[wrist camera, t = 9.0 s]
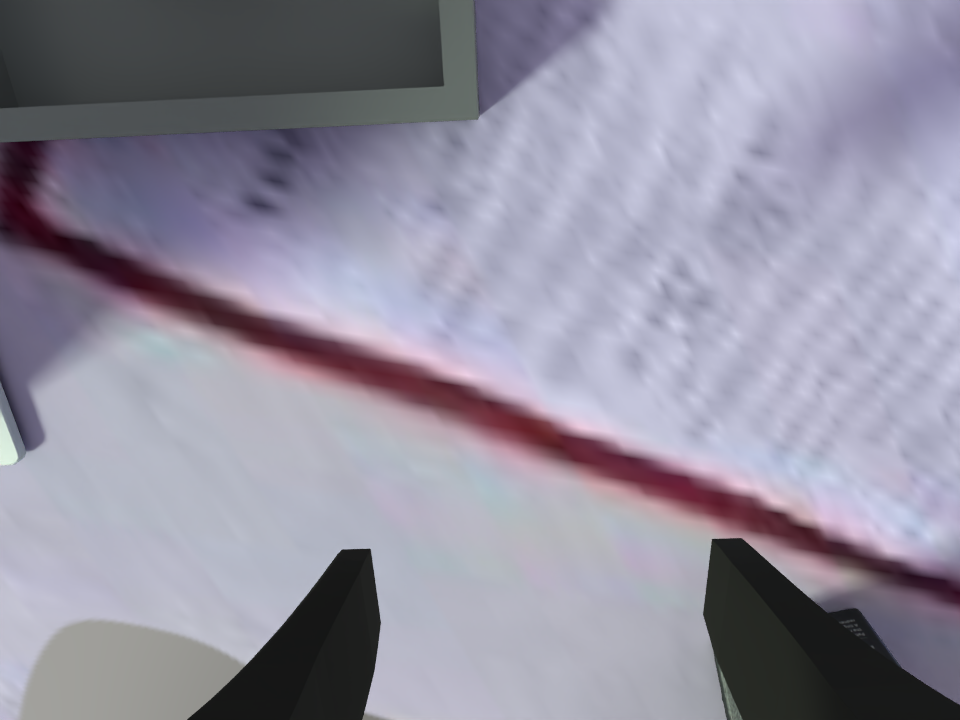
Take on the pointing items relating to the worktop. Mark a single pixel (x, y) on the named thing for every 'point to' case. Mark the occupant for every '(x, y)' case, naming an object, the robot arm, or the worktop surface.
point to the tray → (231, 65)
